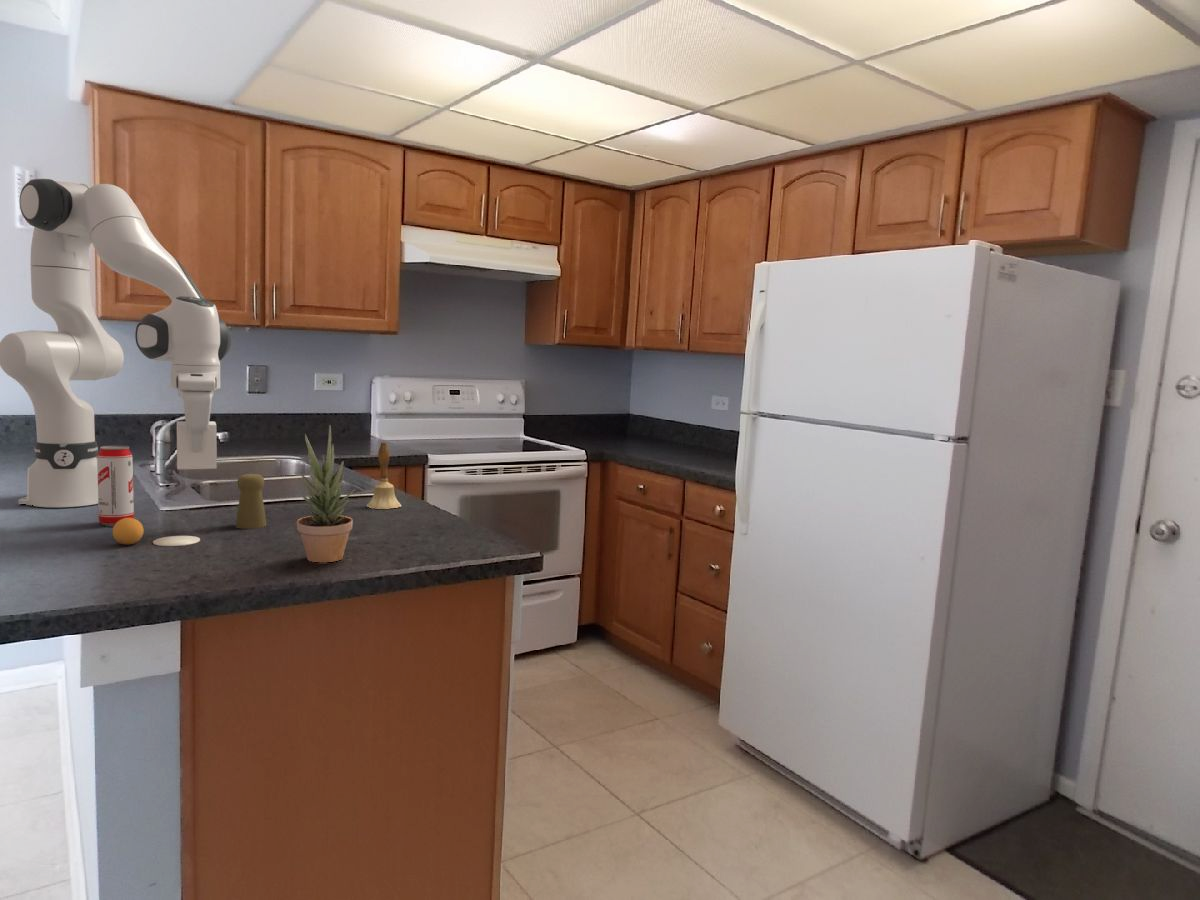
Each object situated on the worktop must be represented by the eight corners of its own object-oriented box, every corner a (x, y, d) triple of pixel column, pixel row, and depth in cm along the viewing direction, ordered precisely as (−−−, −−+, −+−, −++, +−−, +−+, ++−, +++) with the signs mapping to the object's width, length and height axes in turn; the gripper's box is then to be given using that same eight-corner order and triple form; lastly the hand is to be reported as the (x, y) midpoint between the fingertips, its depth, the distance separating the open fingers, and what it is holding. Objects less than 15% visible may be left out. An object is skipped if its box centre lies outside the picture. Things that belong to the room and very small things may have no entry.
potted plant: (298, 567, 140) (298, 426, 137) (295, 554, 149) (295, 421, 146) (358, 564, 144) (359, 426, 141) (351, 551, 153) (352, 421, 150)
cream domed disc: (153, 538, 156) (153, 537, 156) (199, 535, 160) (199, 534, 160) (152, 547, 149) (152, 546, 149) (200, 544, 153) (200, 543, 153)
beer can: (129, 519, 172) (127, 444, 170) (137, 524, 167) (136, 448, 165) (95, 522, 167) (93, 446, 165) (103, 528, 163) (101, 449, 161)
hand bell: (382, 511, 192) (383, 444, 190) (359, 506, 196) (359, 441, 195) (408, 507, 199) (409, 442, 197) (385, 502, 203) (386, 439, 202)
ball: (113, 542, 152) (113, 516, 151) (144, 540, 154) (143, 514, 154) (111, 548, 148) (111, 521, 147) (143, 546, 150) (142, 520, 149)
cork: (257, 521, 175) (257, 471, 174) (272, 526, 171) (272, 474, 170) (230, 525, 170) (229, 473, 169) (244, 530, 167) (244, 477, 165)
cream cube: (177, 464, 164) (176, 421, 163) (215, 463, 168) (214, 421, 167) (177, 469, 158) (176, 424, 157) (216, 468, 162) (216, 424, 160)
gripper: (177, 376, 169) (178, 442, 170) (178, 381, 151) (179, 455, 152) (211, 377, 172) (211, 442, 173) (215, 382, 154) (216, 454, 155)
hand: (196, 448), depth 163 cm, fingers closed on cream cube, 7 cm apart
